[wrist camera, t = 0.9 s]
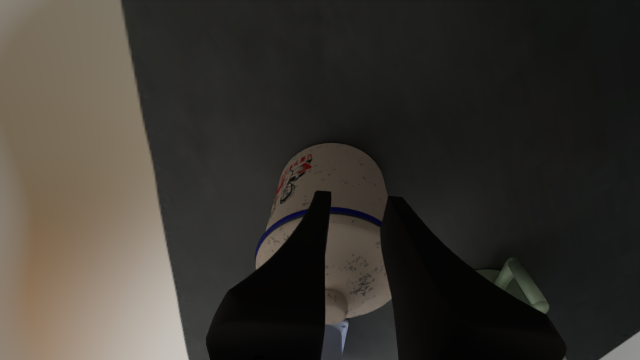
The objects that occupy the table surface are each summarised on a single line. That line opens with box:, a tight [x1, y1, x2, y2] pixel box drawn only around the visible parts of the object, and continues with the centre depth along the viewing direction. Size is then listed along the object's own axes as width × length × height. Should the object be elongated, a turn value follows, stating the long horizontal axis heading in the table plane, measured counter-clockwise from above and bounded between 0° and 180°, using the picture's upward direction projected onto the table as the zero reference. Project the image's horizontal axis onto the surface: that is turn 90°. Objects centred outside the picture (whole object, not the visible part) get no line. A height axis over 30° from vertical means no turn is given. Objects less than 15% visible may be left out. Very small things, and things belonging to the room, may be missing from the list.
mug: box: [475, 257, 566, 360], centre depth 28 cm, size 12×9×8 cm
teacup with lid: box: [255, 143, 392, 325], centre depth 21 cm, size 12×9×12 cm
